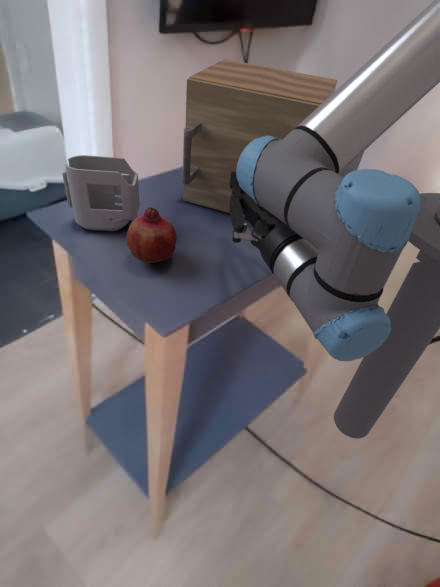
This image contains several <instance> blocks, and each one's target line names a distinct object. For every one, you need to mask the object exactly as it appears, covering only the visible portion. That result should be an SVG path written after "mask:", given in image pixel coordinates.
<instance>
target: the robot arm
mask: <svg viewBox="0 0 440 587" xmlns="http://www.w3.org/2000/svg"><path fill="white" fill-rule="evenodd" d="M439 84H440V0H433V1H431V3H430V4H428V5H427V6H426V7H425V8H424V9H423V10H422V11H421V12H420V13H419V14H418V15H417V16H415V18H413V19H412V20H411V21H410V22H409V23H408V24H406V26H405V27H403V28H402V30H400V32H398V33H397V34H396V35H395V36H393V38H391V40H389V41H388V42H387V43H385V45H384V46H383V47H382V48H381V49H379V50H378V52H376V53H374V55H373V56H372V57H371V58H370V59H369V60H367V61H366V62H365V63H364V64H363V65H362V66H361V67H360V68H359V69H358V70H357V71H355V73H353V74H352V76H350V77H349V78H348V79H347V80H346V81H344V83H342V84H341V85H340V86H339V87H338V88H337V89H335V92H334V93H333V94H332V95H331V96H330V97H328V98H327V99H326V100H325V101H324V102H323V103H322V104H321V105H320V106H319V107H318V108H316V109H315V110H314V111H313V112H312V113H311V114H310V115H309V116H308V117H307V118H306V119H304V120H303V121H302V122H301V123H300V124H299V125H298V126H297V127H296V128H295V129H294V130H292V131H291V132H290V133H289V134H288V135H287V136H286V137H285V138H284V139H283V140H281V139H279V138H277V137H275V138H274V137H272V136H263V137H260V138H257V139H254V140H253V141H252V142H250V143H249V144H248V145H247V146H246V148H245V149H244V150H243V152H242V154H241V155H240V158H239V160H238V163H237V169H236V172H231V178H230V188H231V189H232V195H231V199H230V208H229V210H230V213H229V214H230V218H231V223H232V227H233V229H232V230H233V231H232V237H231V238H232V240H231V241H232V243H235V244H238V243H241V240H245V241H248V242H249V241H250V244H251V245H252V246H253V247H254V248H257V249H258V250H259V251H258V252H259V253H260V255H261V258H262V260H263V261H264V263H265V264H266V266H267V268H268V269H269V270H270V272H271V273H272V275H274V277H275V279H276V280H277V282H278V283H279V284H280V286H281V288H282V289H283V290H284V292H285V293H286V295H287V296H288V297H289V299H290V301H291V302H292V303H293V304H294V306H295V308H296V309H297V310H298V312H299V314H300V315H301V317H302V318H303V319H304V322H305V323H306V324H307V326H308V327H309V329H310V330H311V332H312V334H313V337H314V339H315V340H317V341H318V342H319V343H320V344H321V345H322V347H323V348H324V350H326V352H327V353H328V355H329V356H330V357H331V358H333V359H334V360H336V361H339V362H353V361H356V360H360V359H363V357H365V356H367V355H369V354H370V353H372V352H373V351H375V350H376V349H377V348H378V347H380V346H381V345H382V344H383V343H384V341H385V340H386V339H387V337H388V336H389V333H390V331H391V327H390V319H389V317H388V316H387V315H386V314H387V312H385V308H384V307H383V306H380V305H379V301H380V299H381V298H382V295H383V292H384V289H385V286H386V284H387V282H388V280H389V278H390V275H391V274H392V273H393V270H394V268H395V266H396V264H397V262H398V260H399V258H400V256H401V254H402V252H403V251H404V249H405V247H407V244H408V243H409V239H410V233H411V230H412V228H413V225H414V223H415V220H416V218H417V215H418V213H419V210H420V208H421V196H420V194H421V193H420V192H419V190H418V189H417V187H416V186H415V185H414V184H413V183H412V182H410V181H409V180H407V179H406V178H404V177H402V176H400V175H398V174H391V173H388V172H386V171H384V170H380V169H373V168H363V169H357V170H355V171H353V172H350V173H349V174H347V175H346V176H345V177H342V176H340V175H339V173H340V172H342V171H343V170H344V169H345V168H346V167H347V166H348V165H349V164H350V163H351V162H353V161H354V160H355V159H356V158H357V157H358V156H359V155H360V154H361V153H362V152H364V153H365V151H367V149H368V148H369V147H371V145H373V144H374V143H375V142H376V141H377V140H378V139H379V138H380V137H381V136H382V135H384V134H385V133H386V132H387V131H388V130H389V129H391V128H392V127H393V125H395V124H396V123H397V122H398V121H399V120H400V119H401V118H402V117H403V116H405V114H407V113H408V112H409V111H410V110H411V109H412V108H413V107H414V106H415V105H416V104H418V103H419V102H420V101H421V100H422V99H423V98H424V97H425V96H426V95H428V94H429V93H430V92H431V91H432V90H433V89H434V88H435V87H436V86H437V85H439ZM243 214H244V215H245V217H244V215H243ZM245 218H246V219H247V221H248V222H249V223H250V225H251V226H252V231H251V230H250V229H249V227H248V223H247V222H245V220H246V219H245ZM435 221H436V222H437V224H438V225H439V226H440V207H439V208H438V210H437V212H436V214H435Z"/></svg>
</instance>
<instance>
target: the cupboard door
mask: <svg viewBox="0 0 440 587" xmlns="http://www.w3.org/2000/svg"><path fill="white" fill-rule="evenodd" d="M185 94H186V95H185V97H186V98H185V126H184V128H183V143H182V144H183V146H182V147H183V149H182V180H181V181H182V182H181V183H182V185H183V195H182V200H183V202H187V203H190V204H195V205H198V206H201V207H206V208H209V209H213V210H215V211H219V212H224V213H227V214H230V210H229V208H230V199H231V195H232V189H231V188H230V178H231V172H236V169H237V163H238V160H239V158H240V155H241V154H242V152H243V150H244V149H245V148H246V146H247V145H248V144H249V143H250V142H252V141H253V140H254V139H257V138H260V137H263V136H272V137H274V138H275V137H277V138H279V139H281V140H283V139H284V138H285V137H286V136H287V135H288V134H289V133H290V132H291V131H292V130H294V129H295V128H296V127H297V126H298V125H299V124H300V123H301V122H302V121H303V120H304V119H306V118H307V117H308V116H309V115H310V114H311V113H312V112H313V111H314V110H315V109H316V108H318V107H319V106H320V105H321V104H316V103H311V102H306V101H301V100H296V99H291V98H286V97H281V96H276V95H271V94H266V93H261V92H256V91H251V90H246V89H241V88H236V87H231V86H226V85H221V84H216V83H211V82H206V81H201V80H196V79H191V78H189V77H188V78H187V79H186V93H185ZM243 215H244V214H243ZM244 218H246V217H245V215H244Z"/></svg>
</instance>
